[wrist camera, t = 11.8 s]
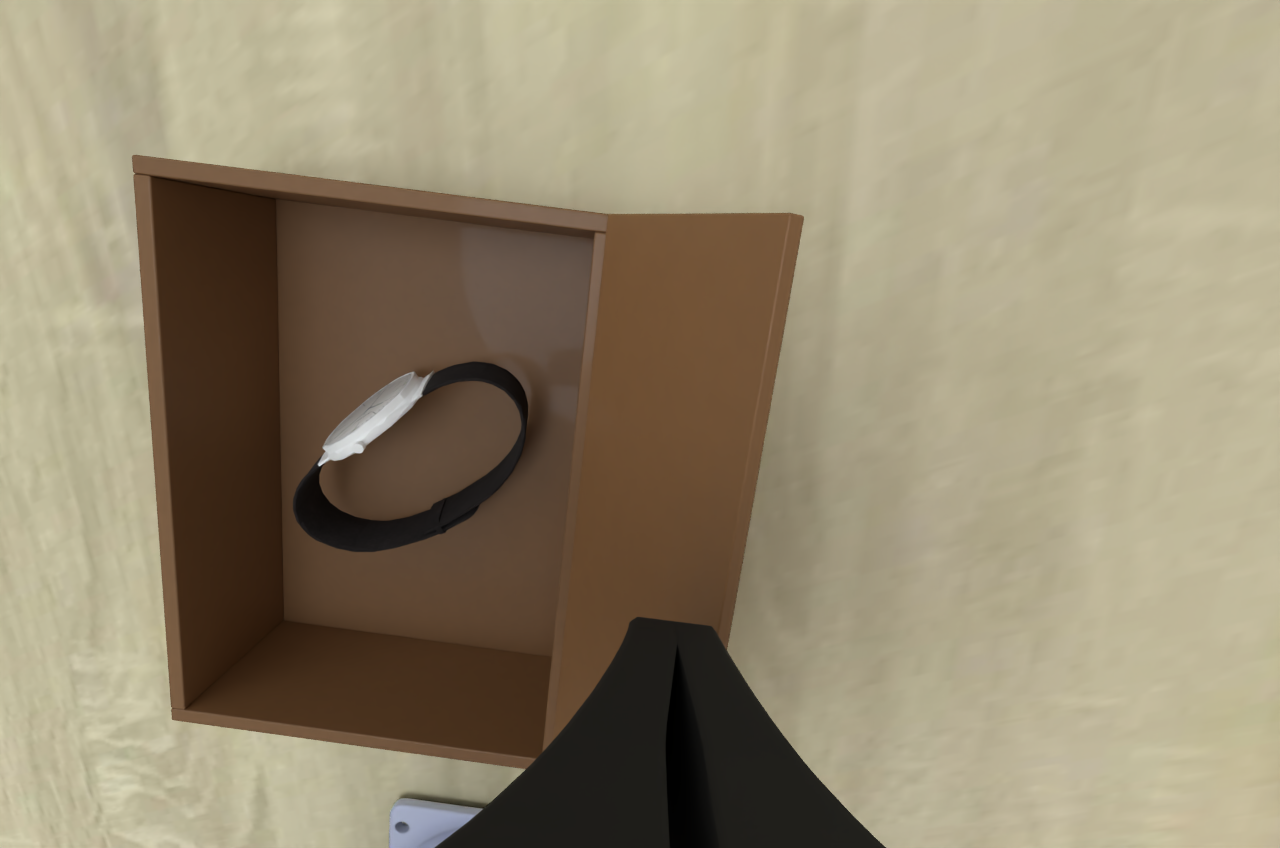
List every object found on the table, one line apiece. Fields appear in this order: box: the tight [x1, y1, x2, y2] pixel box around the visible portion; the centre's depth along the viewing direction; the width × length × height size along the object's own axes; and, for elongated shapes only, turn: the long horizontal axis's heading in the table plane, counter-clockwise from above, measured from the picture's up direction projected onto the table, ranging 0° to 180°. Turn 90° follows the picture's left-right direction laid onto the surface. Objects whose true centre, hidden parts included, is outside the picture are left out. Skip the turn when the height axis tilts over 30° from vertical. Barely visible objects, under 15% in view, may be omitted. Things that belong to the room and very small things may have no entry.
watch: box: [293, 361, 528, 552], centre depth 18 cm, size 8×5×4 cm, turn 123°
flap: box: [553, 213, 804, 740], centre depth 13 cm, size 5×15×1 cm
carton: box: [132, 155, 609, 769], centre depth 18 cm, size 11×15×5 cm
